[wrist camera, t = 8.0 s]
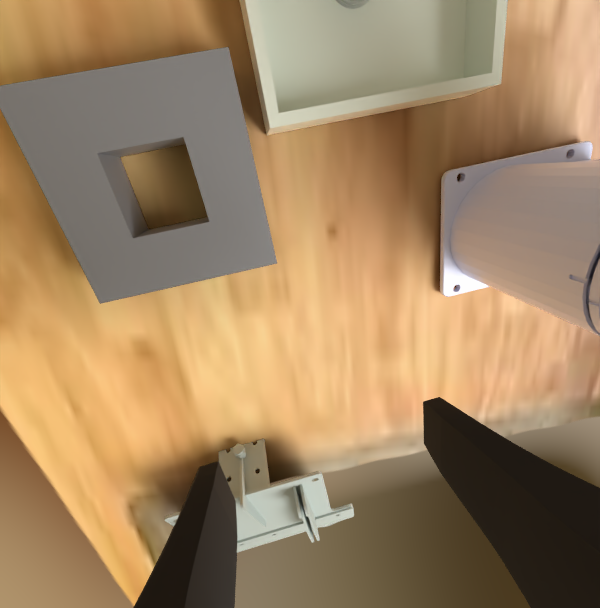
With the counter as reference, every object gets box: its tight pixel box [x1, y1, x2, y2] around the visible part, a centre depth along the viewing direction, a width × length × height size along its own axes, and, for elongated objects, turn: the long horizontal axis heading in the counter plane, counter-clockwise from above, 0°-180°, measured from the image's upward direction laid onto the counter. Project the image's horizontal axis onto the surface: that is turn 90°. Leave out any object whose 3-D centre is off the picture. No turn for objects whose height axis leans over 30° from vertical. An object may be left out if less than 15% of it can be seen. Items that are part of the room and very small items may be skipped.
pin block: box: [0, 47, 277, 304], centre depth 14 cm, size 9×9×2 cm
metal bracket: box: [165, 439, 354, 552], centre depth 25 cm, size 14×6×15 cm
